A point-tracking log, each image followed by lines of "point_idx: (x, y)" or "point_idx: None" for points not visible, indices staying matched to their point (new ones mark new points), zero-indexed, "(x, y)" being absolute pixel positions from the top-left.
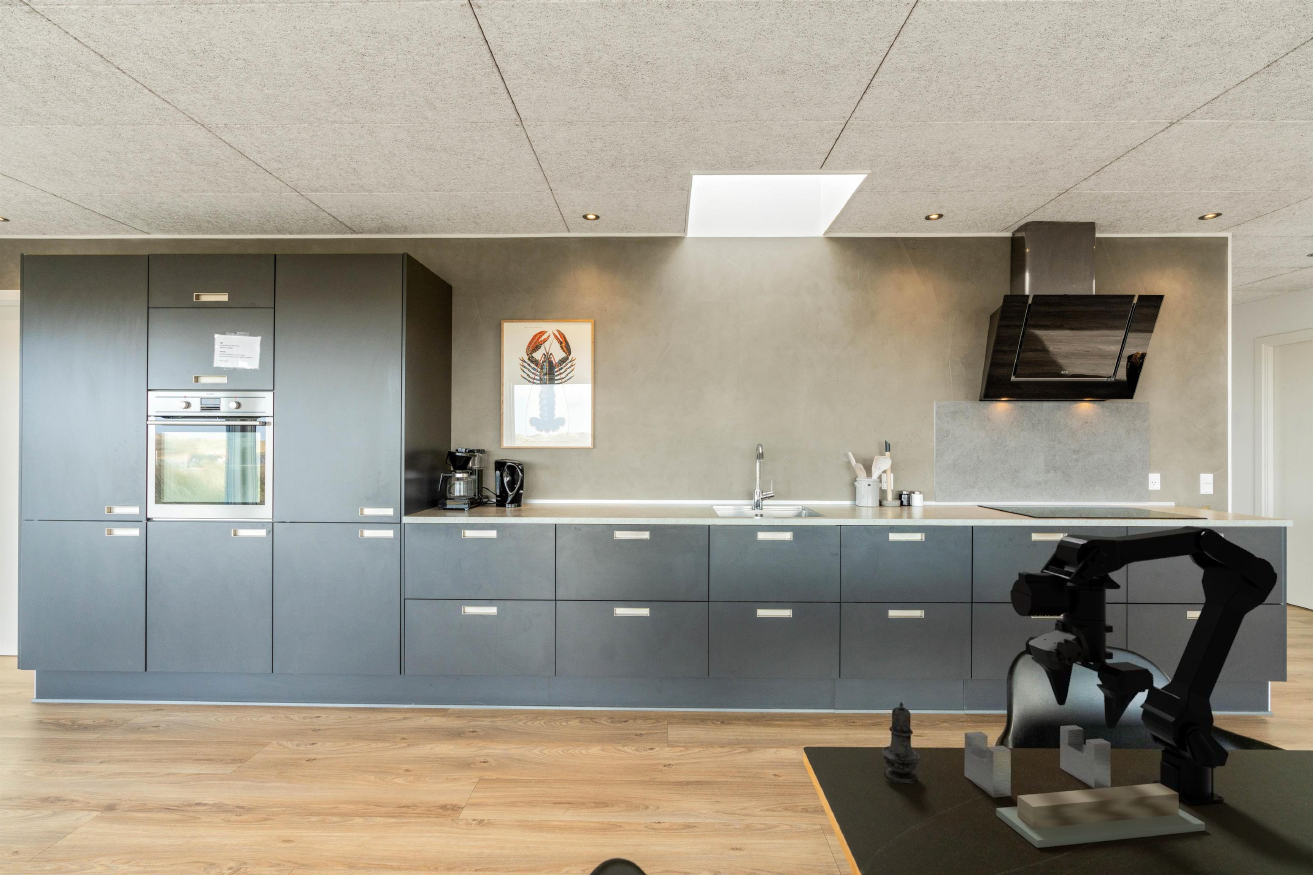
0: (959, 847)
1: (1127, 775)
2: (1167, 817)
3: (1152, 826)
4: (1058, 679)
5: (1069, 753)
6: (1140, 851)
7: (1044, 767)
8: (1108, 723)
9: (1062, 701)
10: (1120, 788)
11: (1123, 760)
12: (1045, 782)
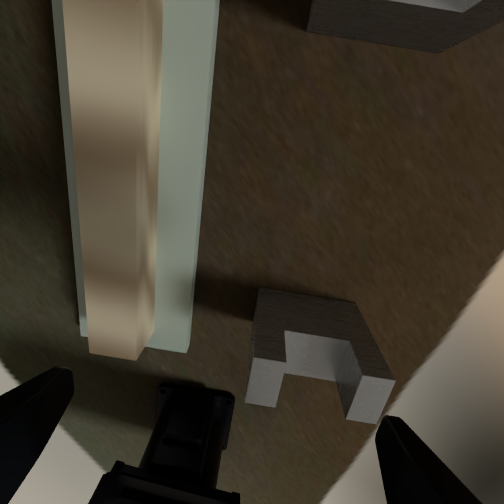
0: None
1: None
2: None
3: (79, 233)
4: None
5: (338, 326)
6: (29, 134)
7: (374, 272)
8: (27, 381)
9: (385, 447)
10: (127, 254)
11: (321, 432)
12: (321, 206)
